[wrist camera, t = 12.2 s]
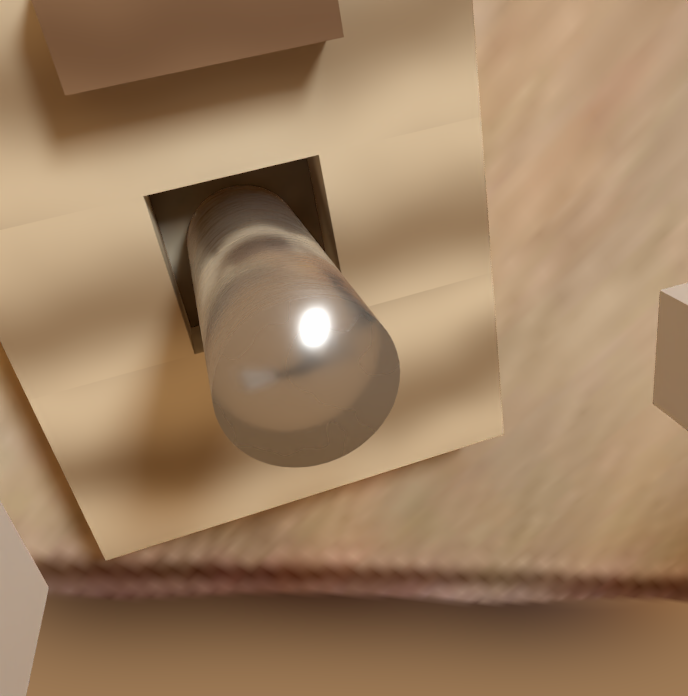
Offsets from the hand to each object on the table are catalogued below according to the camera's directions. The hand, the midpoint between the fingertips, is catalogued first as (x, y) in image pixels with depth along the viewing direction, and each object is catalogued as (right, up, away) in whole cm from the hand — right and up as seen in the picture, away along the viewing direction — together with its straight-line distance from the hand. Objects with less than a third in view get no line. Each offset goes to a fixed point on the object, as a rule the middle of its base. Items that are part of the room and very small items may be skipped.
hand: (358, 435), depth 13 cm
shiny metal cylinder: (-4, +6, +13) cm, 15 cm away
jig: (-4, +6, +13) cm, 15 cm away
